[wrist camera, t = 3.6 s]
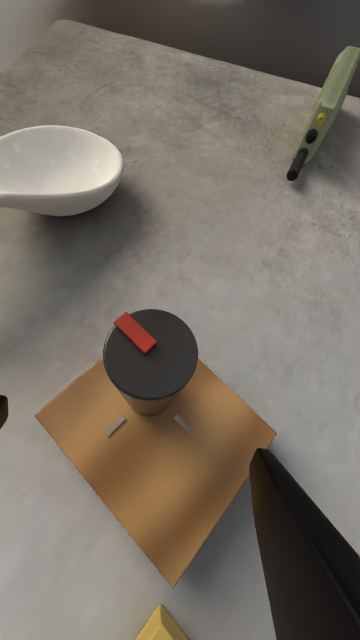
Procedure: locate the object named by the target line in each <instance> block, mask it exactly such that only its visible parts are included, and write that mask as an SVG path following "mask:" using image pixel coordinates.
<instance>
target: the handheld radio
mask: <svg viewBox="0 0 360 640" xmlns="http://www.w3.org/2000/svg"><path fill="white" fill-rule="evenodd" d="M359 58H360V48H356V47H352V46H348V47H347V48H346V49H345V50H344V51H343V52H341V53H340V54H339V55H338V57H337V59H336V61H335V63H334V65H333V67H332V69H331V71H330V74H329V75H328V77H327V80H326V82H325V84H324V86H323V88H322V90H321V92H320V94H319V96H318V99H317V101H316V103H315V106H314V111H313V113H312V115H311V117H310V120H309V122H308V124H307V126H306V128H305V130H304V132H303V134H302V136H301V138H300V140H299V142H298V145H297V147H296V149H295V151H294V153H293V155H292V158H293V160H294V161H293V163H292V165H291V167H290V169H289V171H288V173H287V179H288V180H289V181H294V180H296V179H297V177H298V175H299V172H300V170H301V168H302V166H303V165H305V164H306V163H308V162H309V161H310V160H311V159H312V157H313V156H314V155H315V153H316V151H317V149H318V148H319V146H320V144H322V142H323V140H324V138H325V136H326V135H327V133H328V131H329V129H330V127H331V126H332V124H333V122H334V120H335V118H336V117H337V115H338V113H339V112H340V110H341V107H342V104H343V102H344V99H345V97H346V94H347V89H348V87H349V84H350V82H351V79H352V76H353V74H354V71H355V69H356V66H357V64H358V61H359Z"/></svg>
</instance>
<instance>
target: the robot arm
mask: <svg viewBox="0 0 360 640" xmlns="http://www.w3.org/2000/svg"><path fill="white" fill-rule="evenodd" d="M7 417H8V399H7V397H6V396H4V395H0V429H1V428H2V426H3V425H4V423H5V422H6V420H7ZM249 473H250V484H251V494H252V505H253V515H254V522H255V528H256V533H257V538H258V544H259V549H260V554H261V560H262V565H263V570H264V575H265V581H266V586H267V591H268V597H269V602H270V607H271V613H272V618H273V623H274V629H275V634H276V639H277V640H360V558H359V555H358V554H357V553H356V552H355V550H354V549H353V548H352V547H351V546H350V544H349V543H348V542H347V541H346V540H345V539H344V537H343V536H342V535H341V534H340V533H339V531H338V530H337V529H336V528H335V527H334V526H333V524H332V523H331V522H330V521H329V520H328V518H327V517H326V516H325V515H324V514H323V513H322V511H321V510H320V509H319V508H318V507H317V505H316V504H315V503H314V502H313V501H312V500H311V498H310V497H309V496H308V495H307V494H306V492H305V491H304V490H303V489H302V488H301V487H300V485H299V484H298V483H297V482H296V481H295V479H294V478H293V477H292V476H291V475H290V474H289V472H288V471H287V470H286V469H285V468H284V466H283V465H282V464H281V463H280V462H279V461H278V459H277V458H276V457H275V456H274V455H273V454H272V452H271V451H270V450H268V449H264V448H257V449H256V451H255V453H254V455H253V457H252V460H251V462H250V466H249Z"/></svg>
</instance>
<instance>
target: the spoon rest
mask: <svg viewBox="0 0 360 640" xmlns="http://www.w3.org/2000/svg"><path fill="white" fill-rule="evenodd" d="M123 168H124V162H123V158H122V155H121V153H120V152H119V150H118V149H117V148H116V147H115V146H114V145H113V144H112V143H110V142H109V141H108V140H106V139H105V138H102V137H100V136H98V135H96V134H94V133H91V132H89V131H86V130H82V129H78V128H73V127H67V126H56V125H51V126H37V127H30V128H25V129H22V130H18V131H15V132H11V133H9V134H6V135H4V136H2V137H0V207H8V208H14V209H19V210H25V211H29V212H34V213H38V214H43V215H50V216H71V215H76V214H80V213H83V212H86V211H88V210H91V209H93V208H95V207H97V206H98V205H100V204H101V203H103V202H104V201H105V200H106V199H107V198H108V197H109V196H110V195H111V194H112V193H113V191H114V190H115V189H116V187H117V185H118V183H119V181H120V179H121V176H122V174H123Z"/></svg>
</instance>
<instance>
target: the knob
mask: <svg viewBox="0 0 360 640" xmlns="http://www.w3.org/2000/svg"><path fill="white" fill-rule="evenodd" d="M114 324H115V326H114V327H113V328H112V330H111V331H110V333H109V334H108V336H107V338H106V341H105V344H104V349H103V363H104V367H105V371H106V373H107V375H108V377H109V379H110V380H111V382H112V383H113V384H114V386H115V387H116V388H117V390H118V391H119V392H120V394H121V395H122V396H123V398H124V399H125V400H126V401H127V403H128V404H129V405H130V407H131V408H132V409H133V410H134V411H135V412H137V413H139V414H141V415H144V416H154V415H157V414H160V413H162V412H163V411H165V410H166V409H167V408H168V406H169V405H170V404H171V403H172V402H173V400H174V399H175V398H176V397H177V396H178V394H179V393H180V392H181V391H182V390H183V388H184V387H185V386H186V385H187V383H188V382H189V381H190V380H191V378H192V376H193V374H194V372H195V370H196V366H197V362H198V347H197V343H196V340H195V337H194V335H193V333H192V331H191V330H190V328H189V327H188V326H187V325H186V324H185V323H184V322H183V321H182V320H181V319H180V318H178V317H177V316H175V315H173V314H171V313H169V312H166V311H162V310H156V309H146V310H140V311H137V312H134V313H131V314H128V313H127V312H125V313H124V314H122V315H121V316H120V317H119V318H117V319H116V320H115V321H114Z"/></svg>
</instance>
